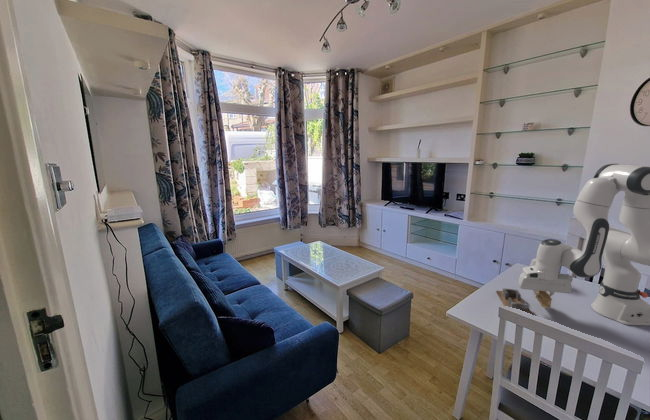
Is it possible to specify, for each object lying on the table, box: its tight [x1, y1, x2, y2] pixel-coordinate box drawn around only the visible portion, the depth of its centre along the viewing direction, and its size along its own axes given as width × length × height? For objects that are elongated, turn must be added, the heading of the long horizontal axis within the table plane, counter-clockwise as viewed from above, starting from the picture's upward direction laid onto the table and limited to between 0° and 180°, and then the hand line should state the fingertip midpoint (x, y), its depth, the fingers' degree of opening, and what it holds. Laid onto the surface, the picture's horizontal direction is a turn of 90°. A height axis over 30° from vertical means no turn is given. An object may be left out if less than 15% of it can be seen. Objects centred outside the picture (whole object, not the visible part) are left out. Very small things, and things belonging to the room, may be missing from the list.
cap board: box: [495, 287, 533, 314], centre depth 136 cm, size 10×20×4 cm, turn 163°
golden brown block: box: [533, 291, 553, 309], centre depth 131 cm, size 3×11×5 cm, turn 161°
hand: (541, 297), depth 131 cm, fingers closed on golden brown block, 3 cm apart
